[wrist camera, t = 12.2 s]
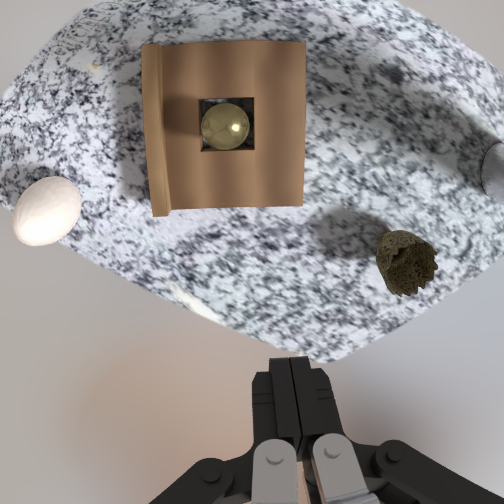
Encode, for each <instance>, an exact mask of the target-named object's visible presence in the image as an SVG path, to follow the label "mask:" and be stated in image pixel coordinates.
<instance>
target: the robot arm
mask: <svg viewBox="0 0 504 504" xmlns="http://www.w3.org/2000/svg"><path fill="white" fill-rule="evenodd" d="M481 178H482V185H483V188H484V191H485V192H486V194H487V195H488V196H489V197H490V198H492V199H494V200H496V201H498V202H499V203H501V204H503V205H504V144H503V143H497V144H494V145H493V146H492V147H491V148H490V149H489V150H488V152H487V153H486V155H485V158H484V161H483V165H482V172H481ZM252 411H253V436H254V443H253V446H252V447H251V449H250V450H249V451H248V452H247V453H246V454H244V455H242V456H240V457H237V458H234V459H231V460H227V461H222V460H220V459H216V458H206V459H202V460H200V461H198V462H196V463H195V464H194V465H193V466H192V467H191V468H190V469H188V470H187V471H186V472H185V473H184V474H183V475H182V476H181V477H179V478H178V479H177V480H176V481H175V482H174V483H173V484H171V485H170V486H169V487H168V488H167V489H166V490H164V491H163V492H162V493H161V494H160V495H159V496H157V497H156V498H155V499H154V500H152V501H151V502H150V503H149V504H243V503H246V502H249V501H251V504H298V485H297V484H298V483H297V462H299V461H302V462H303V469H304V471H303V475H302V479H303V484H304V488H305V492H306V496H307V501H308V504H504V498H502V497H500V496H498V495H496V494H494V493H492V492H490V491H488V490H486V489H484V488H482V487H480V486H478V485H477V484H475V483H473V482H471V481H469V480H467V479H465V478H464V477H462V476H460V475H458V474H456V473H455V472H453V471H451V470H449V469H447V468H446V467H444V466H442V465H440V464H439V463H437V462H435V461H434V460H432V459H430V458H428V457H427V456H425V455H424V454H422V453H420V452H419V451H417V450H415V449H414V448H412V447H410V446H409V445H407V444H406V443H404V442H402V441H399V440H388V441H386V442H384V443H382V444H381V445H380V446H372V445H363V444H358V443H355V442H353V441H351V440H350V439H349V438H348V437H347V436H346V435H345V433H344V432H343V429H342V425H341V421H340V417H339V413H338V409H337V406H336V402H335V399H334V395H333V391H332V387H331V384H330V380H329V377H328V376H327V374H325V372H324V371H323V370H322V369H321V368H315V369H311V366H310V362H309V358H308V356H301V357H289V359H288V358H270V359H269V372H257V373H256V375H255V377H254V379H253V382H252Z"/></svg>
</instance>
